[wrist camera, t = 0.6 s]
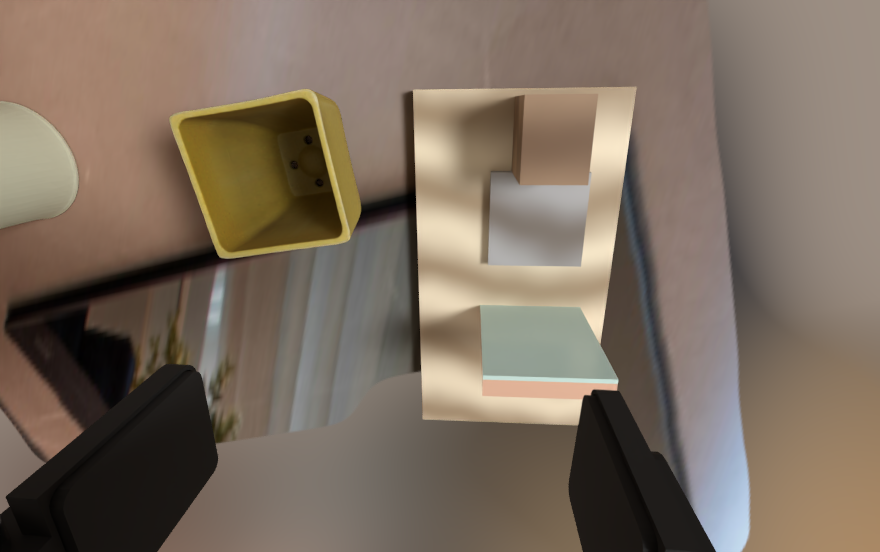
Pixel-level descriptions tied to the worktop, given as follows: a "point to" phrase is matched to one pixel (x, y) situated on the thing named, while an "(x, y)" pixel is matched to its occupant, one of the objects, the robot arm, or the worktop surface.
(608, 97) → the board
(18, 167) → the can
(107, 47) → the worktop surface
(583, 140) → the block on grey plate
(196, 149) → the flower pot
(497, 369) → the tile
